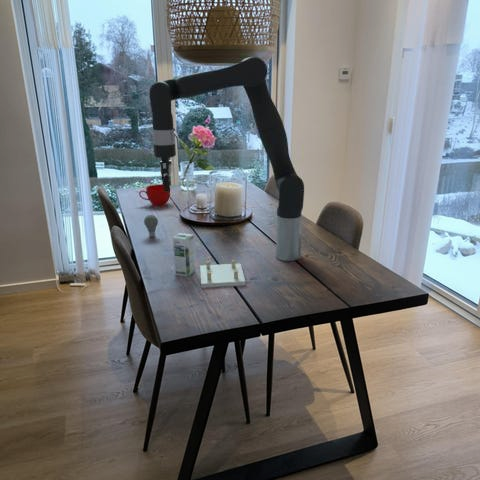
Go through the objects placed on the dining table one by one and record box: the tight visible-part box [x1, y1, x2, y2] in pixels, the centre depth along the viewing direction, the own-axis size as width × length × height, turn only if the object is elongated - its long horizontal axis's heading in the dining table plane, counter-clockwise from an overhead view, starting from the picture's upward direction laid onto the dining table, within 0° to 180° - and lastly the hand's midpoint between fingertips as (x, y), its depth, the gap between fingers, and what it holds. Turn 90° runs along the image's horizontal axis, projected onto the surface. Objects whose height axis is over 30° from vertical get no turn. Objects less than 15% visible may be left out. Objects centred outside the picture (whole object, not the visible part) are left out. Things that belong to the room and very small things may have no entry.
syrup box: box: [172, 232, 196, 278], centre depth 156 cm, size 6×6×14 cm
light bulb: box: [143, 214, 159, 238], centre depth 193 cm, size 6×6×10 cm
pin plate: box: [199, 259, 246, 289], centre depth 155 cm, size 15×15×4 cm
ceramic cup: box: [138, 183, 171, 207], centre depth 239 cm, size 13×17×10 cm
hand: (167, 188), depth 157 cm, fingers open, 8 cm apart
